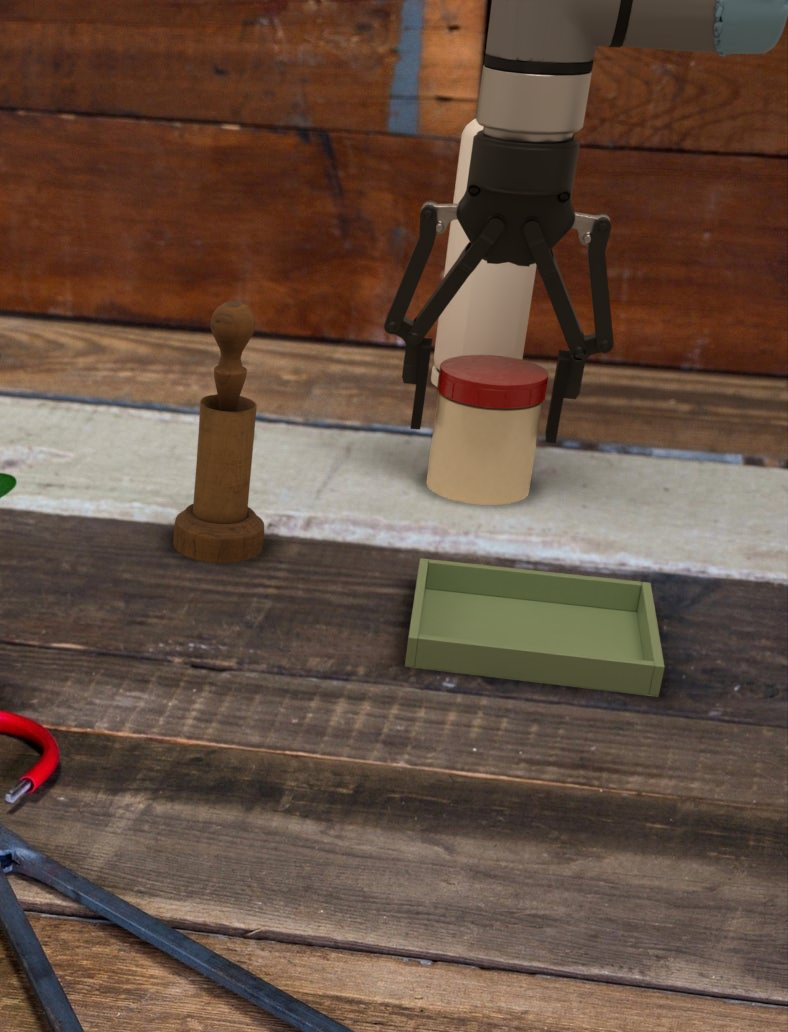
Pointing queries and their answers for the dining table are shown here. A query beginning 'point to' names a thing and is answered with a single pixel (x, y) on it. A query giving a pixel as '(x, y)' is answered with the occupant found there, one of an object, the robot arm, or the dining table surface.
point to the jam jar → (482, 452)
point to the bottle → (482, 293)
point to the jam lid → (492, 381)
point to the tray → (535, 627)
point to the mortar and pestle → (224, 455)
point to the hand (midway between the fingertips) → (482, 430)
